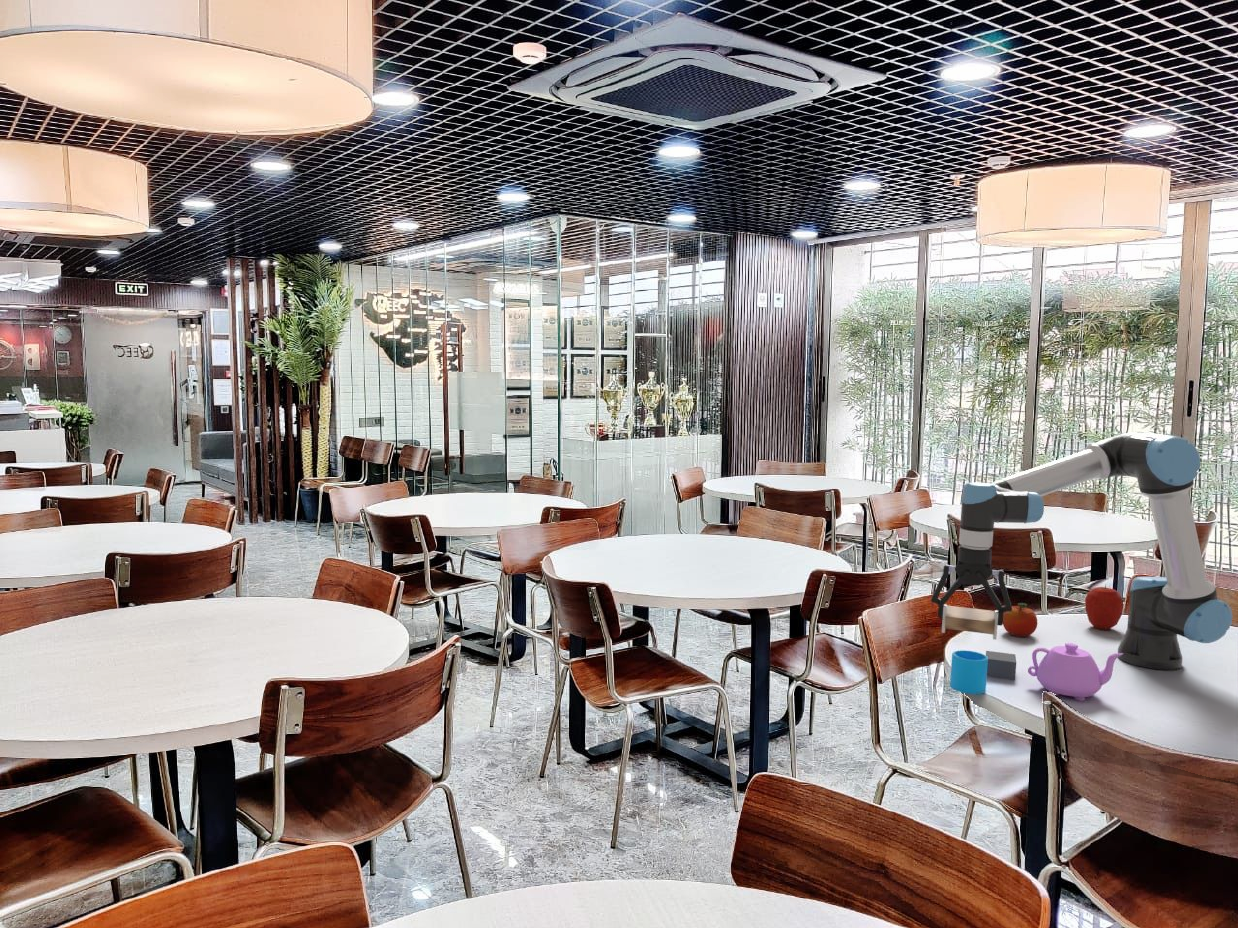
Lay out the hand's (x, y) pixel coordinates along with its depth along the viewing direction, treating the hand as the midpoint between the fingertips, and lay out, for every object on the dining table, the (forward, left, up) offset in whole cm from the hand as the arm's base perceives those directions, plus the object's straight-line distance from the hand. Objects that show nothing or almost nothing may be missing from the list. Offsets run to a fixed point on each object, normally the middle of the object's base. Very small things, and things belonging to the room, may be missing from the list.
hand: (968, 634), depth 221 cm
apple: (-38, -72, -13) cm, 83 cm away
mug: (0, 0, -13) cm, 13 cm away
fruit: (-14, -53, -13) cm, 56 cm away
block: (0, 0, +2) cm, 2 cm away
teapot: (-24, -5, -13) cm, 28 cm away
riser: (-8, -13, -13) cm, 20 cm away
